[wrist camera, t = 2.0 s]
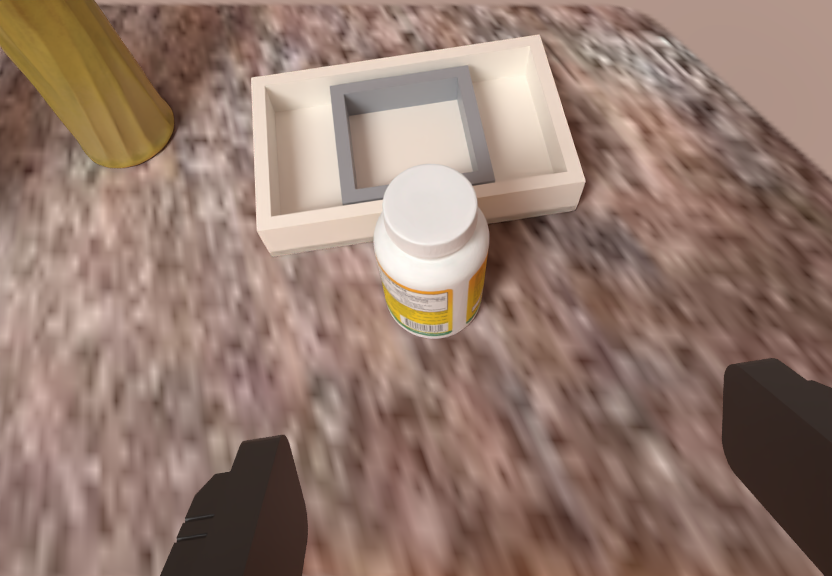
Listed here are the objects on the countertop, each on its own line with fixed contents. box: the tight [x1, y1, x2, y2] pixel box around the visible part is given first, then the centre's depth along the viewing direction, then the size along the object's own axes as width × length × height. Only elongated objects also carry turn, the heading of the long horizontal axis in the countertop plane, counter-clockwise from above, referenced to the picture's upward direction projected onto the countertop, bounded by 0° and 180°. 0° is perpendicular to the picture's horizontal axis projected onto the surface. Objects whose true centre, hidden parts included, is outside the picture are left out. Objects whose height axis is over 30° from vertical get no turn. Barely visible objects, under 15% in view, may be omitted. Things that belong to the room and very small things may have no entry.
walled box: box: [251, 35, 586, 257], centre depth 36 cm, size 18×11×3 cm, turn 98°
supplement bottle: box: [374, 164, 489, 339], centre depth 29 cm, size 5×5×10 cm
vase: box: [0, 0, 174, 168], centre depth 33 cm, size 6×6×14 cm
